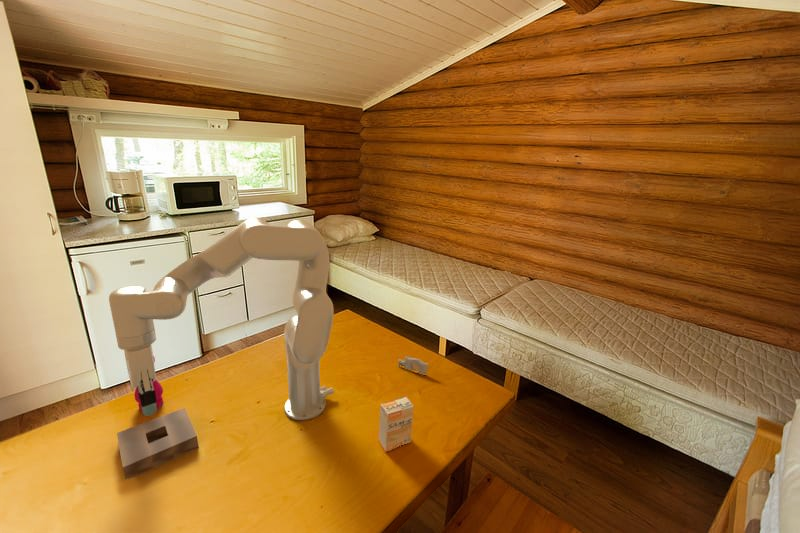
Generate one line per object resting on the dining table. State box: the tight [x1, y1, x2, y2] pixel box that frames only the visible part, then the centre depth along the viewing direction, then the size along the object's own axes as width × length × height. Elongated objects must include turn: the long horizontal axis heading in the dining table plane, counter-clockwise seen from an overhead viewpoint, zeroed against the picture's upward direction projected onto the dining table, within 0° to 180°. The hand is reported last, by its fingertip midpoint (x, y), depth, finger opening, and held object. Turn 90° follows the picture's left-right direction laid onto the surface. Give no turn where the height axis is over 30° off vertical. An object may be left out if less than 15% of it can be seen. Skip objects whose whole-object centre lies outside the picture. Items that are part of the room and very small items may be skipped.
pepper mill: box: [133, 355, 164, 412], centre depth 108 cm, size 7×7×20 cm
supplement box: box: [378, 396, 414, 453], centre depth 100 cm, size 8×5×13 cm, turn 117°
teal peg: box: [138, 378, 158, 417], centre depth 91 cm, size 3×3×11 cm
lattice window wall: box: [397, 356, 429, 374], centre depth 135 cm, size 12×2×6 cm, turn 61°
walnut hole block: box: [116, 407, 200, 481], centre depth 96 cm, size 16×14×4 cm
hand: (147, 399), depth 92 cm, fingers closed on teal peg, 3 cm apart
